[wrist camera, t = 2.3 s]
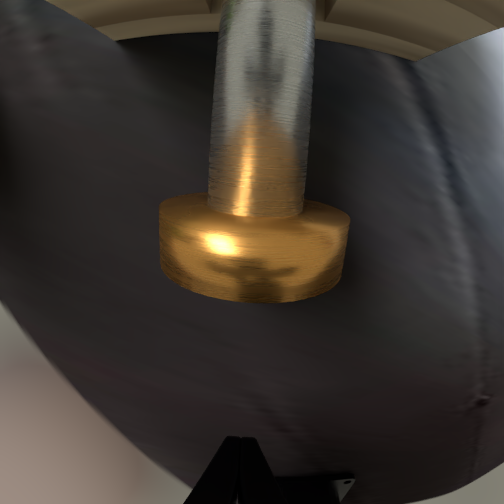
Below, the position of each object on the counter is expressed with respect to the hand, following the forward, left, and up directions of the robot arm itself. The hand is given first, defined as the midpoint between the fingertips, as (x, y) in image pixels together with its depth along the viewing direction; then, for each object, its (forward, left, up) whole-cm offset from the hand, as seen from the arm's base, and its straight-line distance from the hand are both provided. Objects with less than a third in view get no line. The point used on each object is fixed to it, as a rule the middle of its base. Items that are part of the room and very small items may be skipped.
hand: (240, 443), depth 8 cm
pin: (+12, 0, -3) cm, 12 cm away
